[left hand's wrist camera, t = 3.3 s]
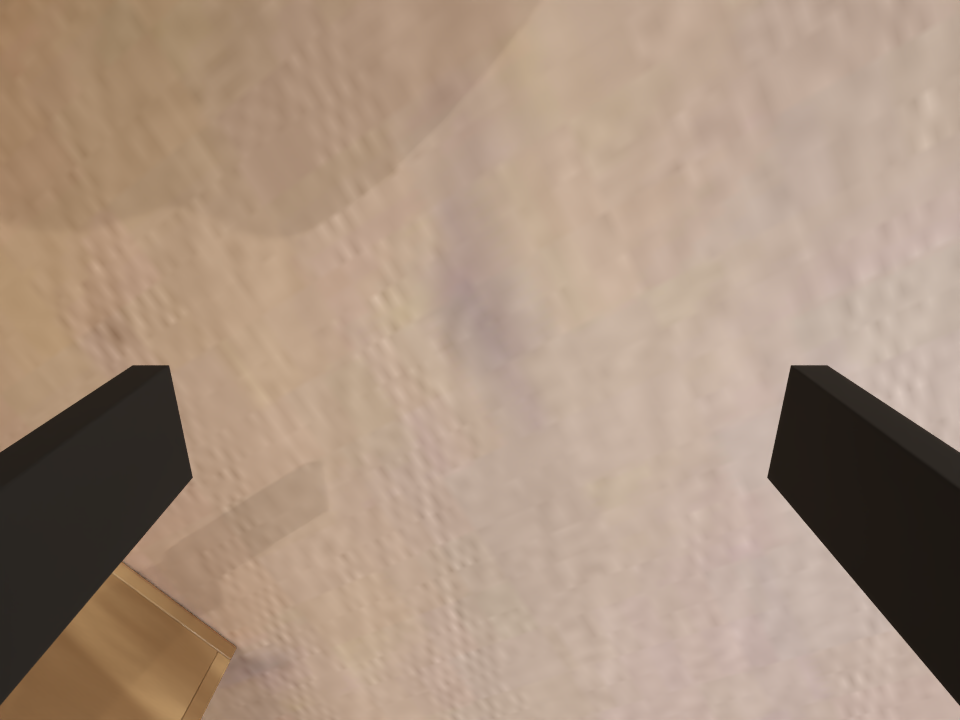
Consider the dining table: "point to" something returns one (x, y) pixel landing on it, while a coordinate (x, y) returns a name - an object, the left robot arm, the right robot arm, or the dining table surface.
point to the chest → (124, 660)
